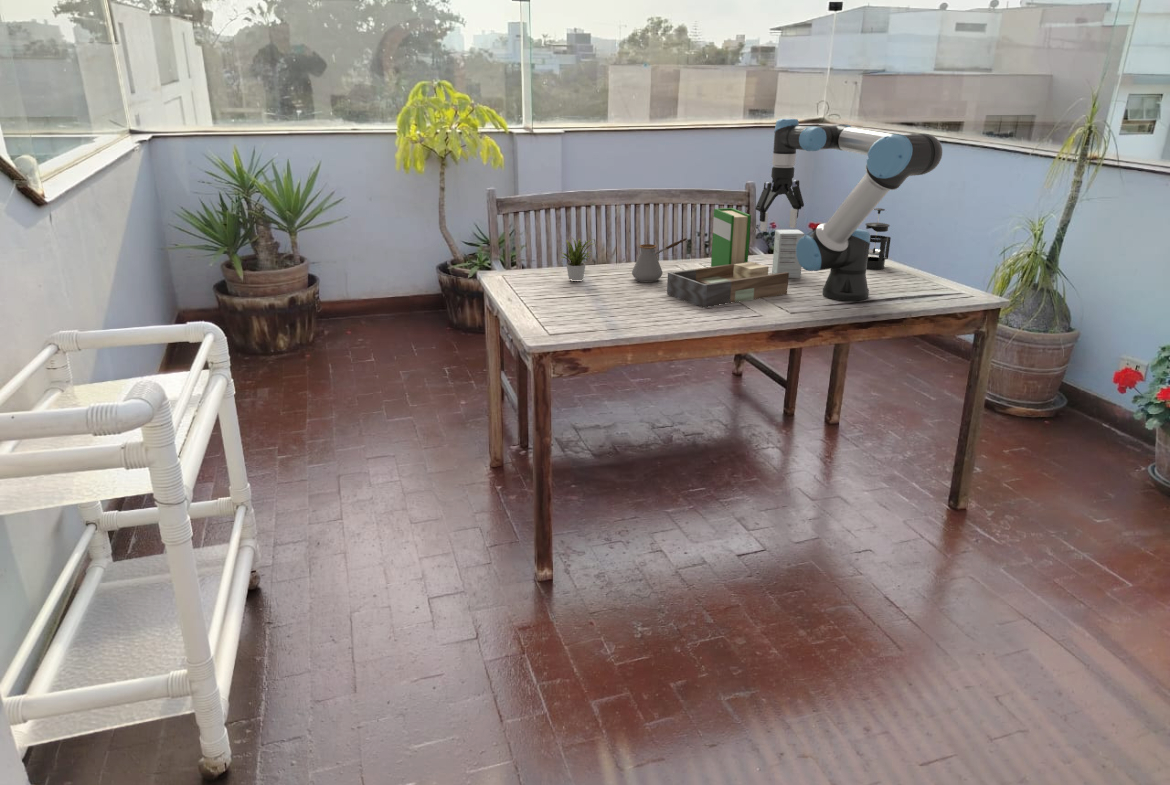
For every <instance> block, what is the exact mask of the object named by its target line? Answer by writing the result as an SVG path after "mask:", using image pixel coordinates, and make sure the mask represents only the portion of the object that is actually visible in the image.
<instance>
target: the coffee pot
mask: <svg viewBox="0 0 1170 785" xmlns="http://www.w3.org/2000/svg"><path fill="white" fill-rule="evenodd" d="M683 242H686V243H687V244H689V240H688V238H687V237H685V238H683V239H679V241H675V242H673V243H671V244H670V245H667V246H665V247H664V248H661V249H659V250H657V251H656V248H657V245H656V244H652V243H651V244H650V243H649V244H648V243H643V244H640V245H639V248H640V249H639V250H640V252H639V255H638V257H637V259H636V262H635V263H634V265H633V269H632V271H631V274H632V277H633V278H634V279H636V281H637V282H640V283H653V282H654V283H655V282H658V280H659V279H660V278H661V277H662V276H663V270H662V268H661V264H660V261H659V259H658V257H657V255H658V254H660V253H662V252H664V251H666V250H669V249H671V248H673V247H676V246H678V245H679V244H683Z"/></svg>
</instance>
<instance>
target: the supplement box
mask: <svg viewBox="0 0 1170 785" xmlns="http://www.w3.org/2000/svg"><path fill="white" fill-rule="evenodd" d="M803 236H805V233H804V232H803V231H801V230H800V229H775V231H774V241H773V242H774V245H773V255H772V256H773V257H772V266H771V269H772V270H771V274H776V273H783V272H788V273H789V278H788V279H801V277H802V267H801V265H800V264H799V262H798V260H797V256H796V246H797V243H798V241H799V239H800V238H801V237H803Z"/></svg>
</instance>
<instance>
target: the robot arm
mask: <svg viewBox="0 0 1170 785" xmlns="http://www.w3.org/2000/svg"><path fill="white" fill-rule="evenodd" d="M799 124H800V123H799V119H798V118H778V119H777V120H776V122H775V127H774V128H775V129H774V135H773V136H774V138H773V139H774V140H773V149H772V150H773V151H772V152H773V153H772V163H771V164H772V166H773V167H771V179H772V180H771V182H769V181H765V182H764V184H763V189H762V192H761V194H760V196H759V198H758V201H757V202H756V203H757V204H756V206H755V210H756V211H758V212H759V221H760V224H759V226H760V228H759V231H761V232H765V233H767V232H768V225H769V224H768V222H769V212H767V211H768V210H769V208H770V207H771V205H772V204H773V203H774V200H775V199H776V197H779V195H780V196H782V195H785V196H786V198H787V199H788V201H789V204H790V205H791V207H792V208H790V211H789V212H790V213H789V221H788V222H789V225H788V228H790V229H791V228H792V229H796V228H797V221H798V220H797V219H798V217H799V210H802V208H803V207H804V206H805V204H804V199H803V196H802V191H801V188H800V180H798V179H793V178H795V167H794V166H795V165H796V156H797V150H799V151H800V150H801V151H806V152H817V151H821V150H838V151H843V152H849V153H854V154H860V155H865V156H868V158H867V159H866V165H865V171H866V173H864V175H863V177H862V178H861V179H860V180H859V182H858V183H857V184H856V185H855V187H854V188H853V189H851V192H850V193H849V194H848V196H846V198H845V199H844V200H843V201H842V203H841V205H839V206H838V208H837V209H836V210H835V212H834V213H833V215H832V216H831V217H830V218H829V219H828V221H827V222H823V223H822V222H821V223H820V224H819V225H817V227H816V228H815V229H814V230H813V232H812V233H811V234H809V235H807V234H806V235H804V236H803V237H801V238H800V239H799V241H798V243H797V246H796V256H797V260H798V262H799V264H800V265H801V269H804V271H809V272H818V271H824V270H830V272H829V274H828V275H827V276H828V277H827V279H826V281H825V283H824V284H825V285H824V286H823V287H822V288H823V289H822V295H823V296H824V297H826V298H828V297H829V299H832V298H833V300H837V299H840V300H839V301H848V302H850V301H851V302H853V301H854V302H855V301H857V300H858V301H864V300H866V299H868V298H869V296H870V295H869V294H870V289H869V288H868V280H867V279H868V278H867V269H866V268H867V261H868V257H869V255H870V254H869V249H870V246H871V242H870V235H871V232H869V231H868V230H867V229H866V230H865V229H861V228H859V227H860V226H861V224H863V222H864V221H865V220H866V219H867V217H868V216H869V215H870V214H871V212H873V211H874V209H876V207H877V206H878V204H879V203H880V202H881V201H882V200H883V199H884V197H885V196H886V195H887V194H888V192H890V191H895V190H897V189H898V188H900V187H901V185H902V184H903V183H904V182H905V180H907V179H908V178H909V177H913V176H914V177H915V176H923V175H926V174H928V173H930V172H932V171H934V170H935V169H936V168H937V167H938V165H939V164H940V162H941V160H942V157H943V147H942V144H941V142H940V140H939V139H938V138H937V137H935V136H934V135H932V134H929V133H909V134H899V133H897V134H896V133H888V132H882V131H876V130H870V129H869V130H868V129H866V128H865V129H863V128H858V127H852V126H851V125H849V124H837V125H836V124H835V125H834V124H833V125H799ZM858 301H857V302H858Z"/></svg>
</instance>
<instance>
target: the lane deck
mask: <svg viewBox="0 0 1170 785" xmlns="http://www.w3.org/2000/svg"><path fill="white" fill-rule="evenodd" d="M743 263H746V262H743ZM736 264H739V263H736ZM733 271H734V264H728V265H721V266H713V267H711V266H708V267H701V268H693V269H692V268H691V269H685V270H678V271H676V270H675V271H669V272H667V284H666V285H667V286H666V287H667V288H666V294H667V295H669V296H671V297H674V298H676V299H679V300H682V301H684V300H685V302H687V303H690V304H692V303H693V305H695V304H696V305H695V306H698V305H699V306H698V307H700V306H702V307H701V308H703V307H705V308H709V307H708V306H711V307H715V306H714V305H717V306H720V305H719V304H723V305H726V304H725V303H730V304H732V303H731V302H736V303H740V302H739V301H742V302H746V300H748V301H753V300H758V299H759V298H760V299H765V298H771V297H778V296H777V295H779V296H783V294H785V295H788V285H789V279H790V278H789V273H788V272H783V273H776V274H772V273H770V274H769V273H768V275H762V276H756V277H749V278H742V279H734V278H733Z"/></svg>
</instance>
